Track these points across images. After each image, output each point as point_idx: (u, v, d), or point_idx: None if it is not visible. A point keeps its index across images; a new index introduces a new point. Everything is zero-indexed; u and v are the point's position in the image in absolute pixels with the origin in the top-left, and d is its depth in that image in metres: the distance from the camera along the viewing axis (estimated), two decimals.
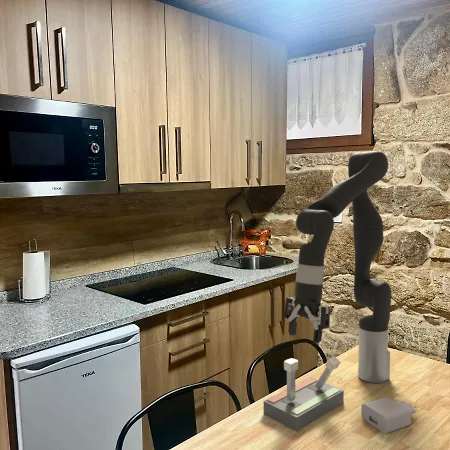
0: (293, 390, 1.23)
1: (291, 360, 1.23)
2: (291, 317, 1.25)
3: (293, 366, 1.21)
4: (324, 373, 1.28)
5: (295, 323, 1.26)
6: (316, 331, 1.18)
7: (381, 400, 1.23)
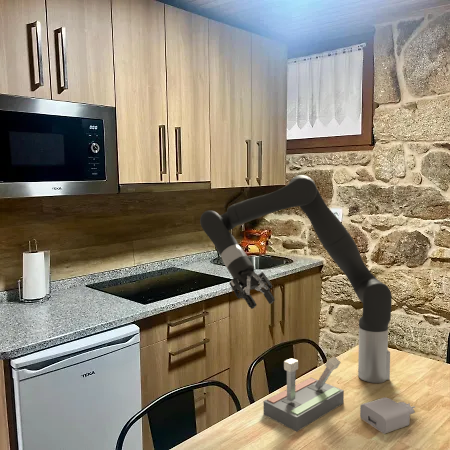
0: (293, 390, 1.23)
1: (291, 360, 1.23)
2: None
3: (293, 366, 1.21)
4: (324, 373, 1.28)
5: (266, 292, 1.37)
6: None
7: (380, 400, 1.23)
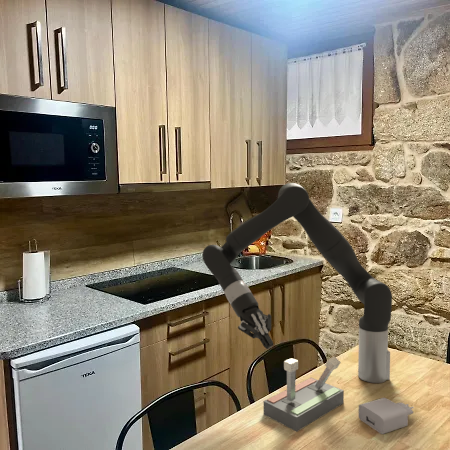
0: (293, 390, 1.23)
1: (291, 360, 1.23)
2: None
3: (293, 366, 1.21)
4: (324, 373, 1.28)
5: None
6: None
7: (378, 400, 1.23)
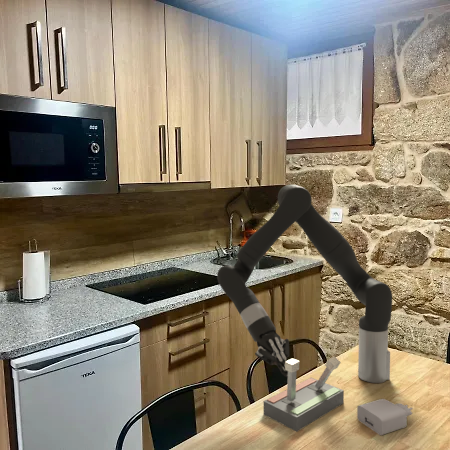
0: (293, 390, 1.23)
1: (292, 360, 1.23)
2: None
3: (294, 367, 1.21)
4: (324, 373, 1.28)
5: None
6: None
7: (377, 401, 1.23)
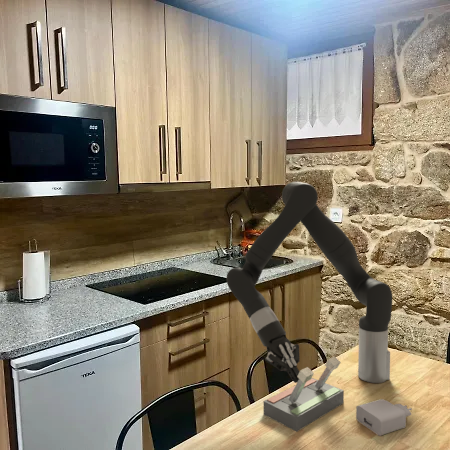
0: (298, 395, 1.22)
1: (307, 371, 1.19)
2: None
3: (307, 378, 1.18)
4: (324, 373, 1.28)
5: None
6: None
7: (376, 402, 1.22)
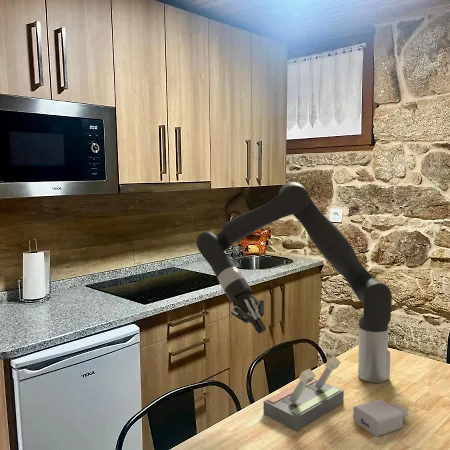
0: (298, 395, 1.22)
1: (309, 372, 1.19)
2: None
3: (308, 380, 1.18)
4: (324, 373, 1.28)
5: None
6: None
7: (373, 402, 1.22)
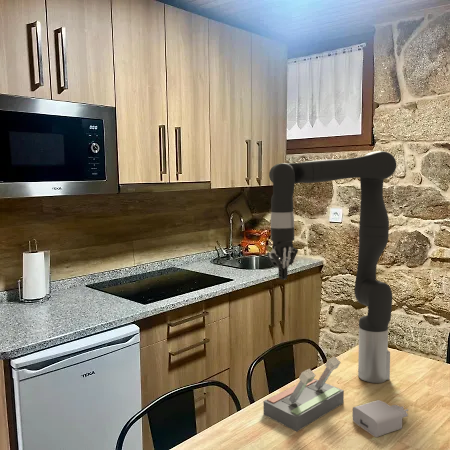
0: (298, 395, 1.22)
1: (309, 372, 1.19)
2: None
3: (308, 380, 1.18)
4: (324, 373, 1.28)
5: None
6: None
7: (373, 403, 1.22)
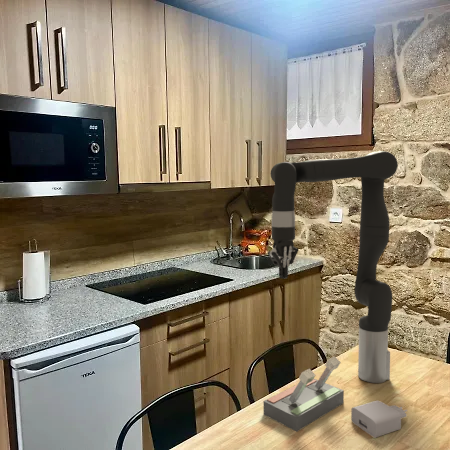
0: (298, 395, 1.22)
1: (309, 372, 1.19)
2: None
3: (308, 380, 1.18)
4: (324, 373, 1.28)
5: None
6: None
7: (371, 403, 1.22)
